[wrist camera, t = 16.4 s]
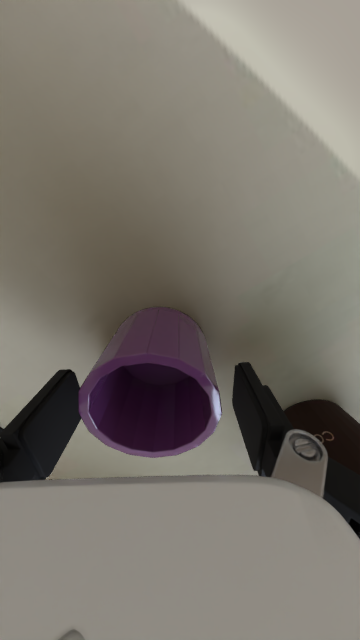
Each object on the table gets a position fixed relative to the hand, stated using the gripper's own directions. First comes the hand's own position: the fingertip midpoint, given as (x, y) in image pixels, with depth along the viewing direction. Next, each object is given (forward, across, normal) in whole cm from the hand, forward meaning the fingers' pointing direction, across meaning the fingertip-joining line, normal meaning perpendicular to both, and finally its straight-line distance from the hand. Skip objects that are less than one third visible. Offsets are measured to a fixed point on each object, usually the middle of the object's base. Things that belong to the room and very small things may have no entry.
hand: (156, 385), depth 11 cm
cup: (+3, 0, 0) cm, 3 cm away
